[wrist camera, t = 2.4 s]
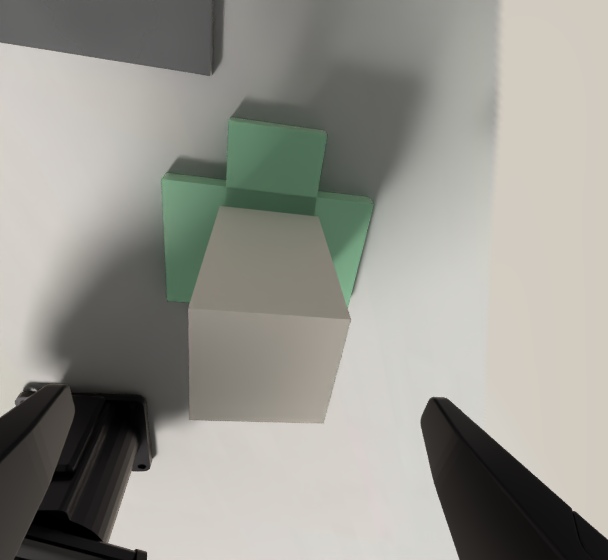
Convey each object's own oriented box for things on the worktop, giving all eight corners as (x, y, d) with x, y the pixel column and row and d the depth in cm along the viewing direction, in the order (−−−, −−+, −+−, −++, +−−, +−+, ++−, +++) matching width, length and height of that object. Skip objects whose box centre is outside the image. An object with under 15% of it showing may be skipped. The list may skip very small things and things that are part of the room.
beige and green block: (333, 338, 20) (368, 483, 13) (173, 328, 19) (120, 483, 12) (382, 138, 15) (478, 209, 8) (164, 107, 14) (63, 159, 7)
